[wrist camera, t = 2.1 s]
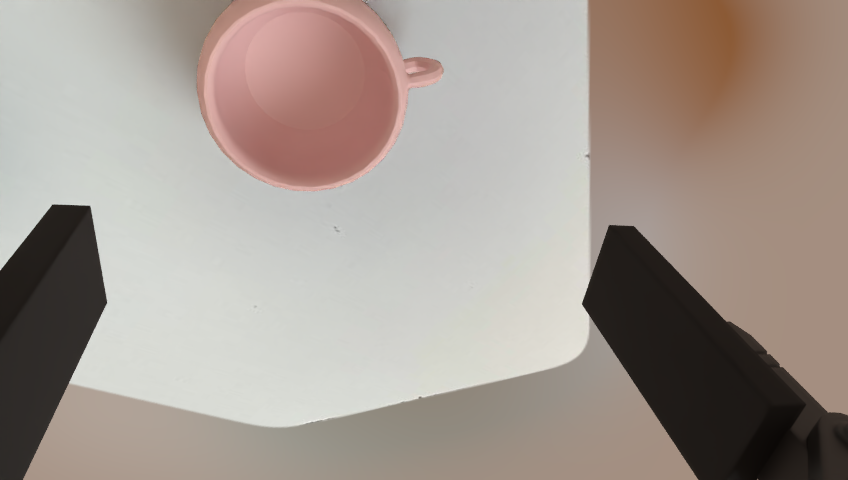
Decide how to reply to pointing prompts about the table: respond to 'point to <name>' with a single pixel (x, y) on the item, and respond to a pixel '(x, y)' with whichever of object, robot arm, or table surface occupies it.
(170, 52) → the table surface
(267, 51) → the mug
